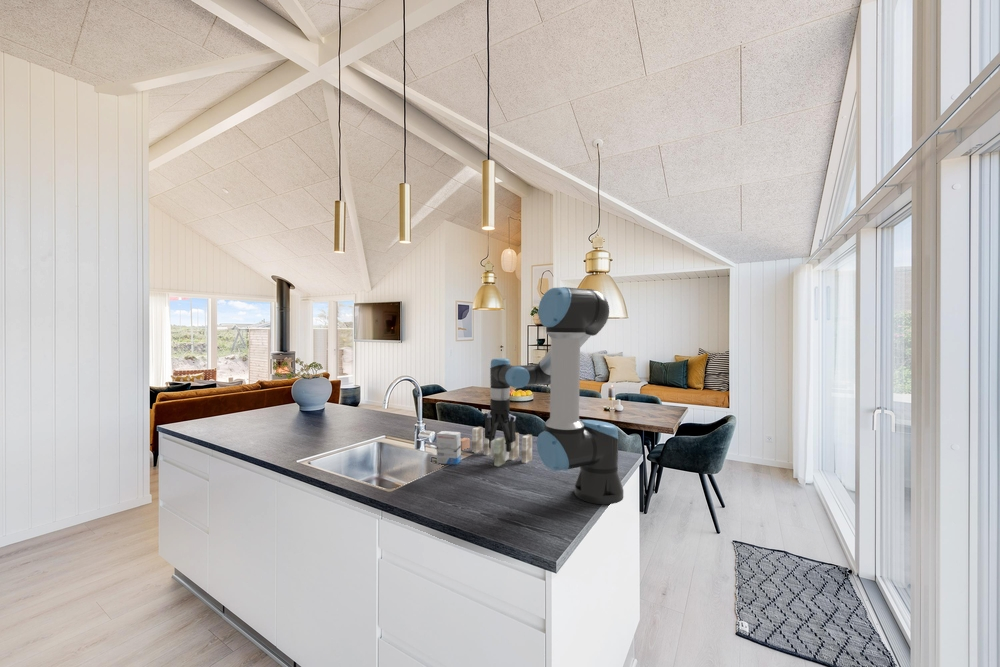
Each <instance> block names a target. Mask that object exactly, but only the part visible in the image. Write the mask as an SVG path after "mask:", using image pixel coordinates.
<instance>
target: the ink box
mask: <svg viewBox="0 0 1000 667" xmlns="http://www.w3.org/2000/svg"><path fill="white" fill-rule="evenodd" d="M435 434H436V463H437V464H443V465H444V464H445V465H454V466H457V465H458V464H459V463H460V462H461V461H462V454H461V453H462V450H461V439H462V437H461V432H460V431H450V430H449V431H448V430H447V431H446V430H441V431H440V432H438V433H435Z"/></svg>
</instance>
